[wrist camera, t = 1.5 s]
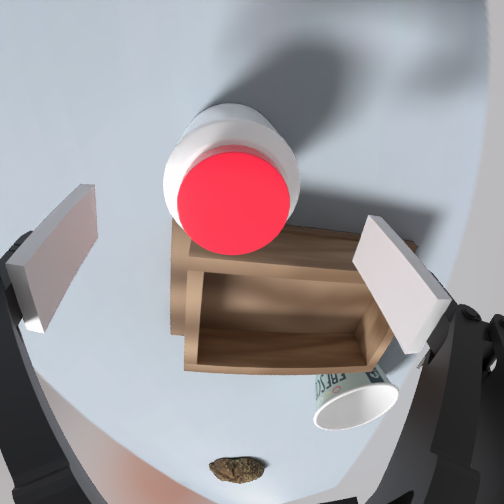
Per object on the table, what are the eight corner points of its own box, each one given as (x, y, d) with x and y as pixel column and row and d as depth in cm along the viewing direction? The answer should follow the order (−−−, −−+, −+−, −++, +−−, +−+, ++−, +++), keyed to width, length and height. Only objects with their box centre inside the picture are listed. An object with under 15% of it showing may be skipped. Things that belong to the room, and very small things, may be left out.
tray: (174, 213, 27) (163, 250, 22) (413, 241, 31) (441, 274, 26) (171, 328, 34) (166, 370, 29) (367, 335, 38) (383, 372, 33)
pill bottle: (295, 164, 25) (337, 227, 16) (215, 211, 27) (213, 294, 18) (245, 84, 22) (261, 94, 12) (161, 138, 23) (121, 189, 14)
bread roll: (266, 468, 64) (268, 486, 59) (217, 473, 64) (217, 491, 60) (257, 452, 57) (259, 473, 52) (200, 458, 57) (200, 478, 53)
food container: (355, 396, 46) (366, 429, 41) (291, 393, 44) (298, 430, 38) (399, 349, 41) (416, 384, 35) (331, 341, 38) (345, 383, 32)
